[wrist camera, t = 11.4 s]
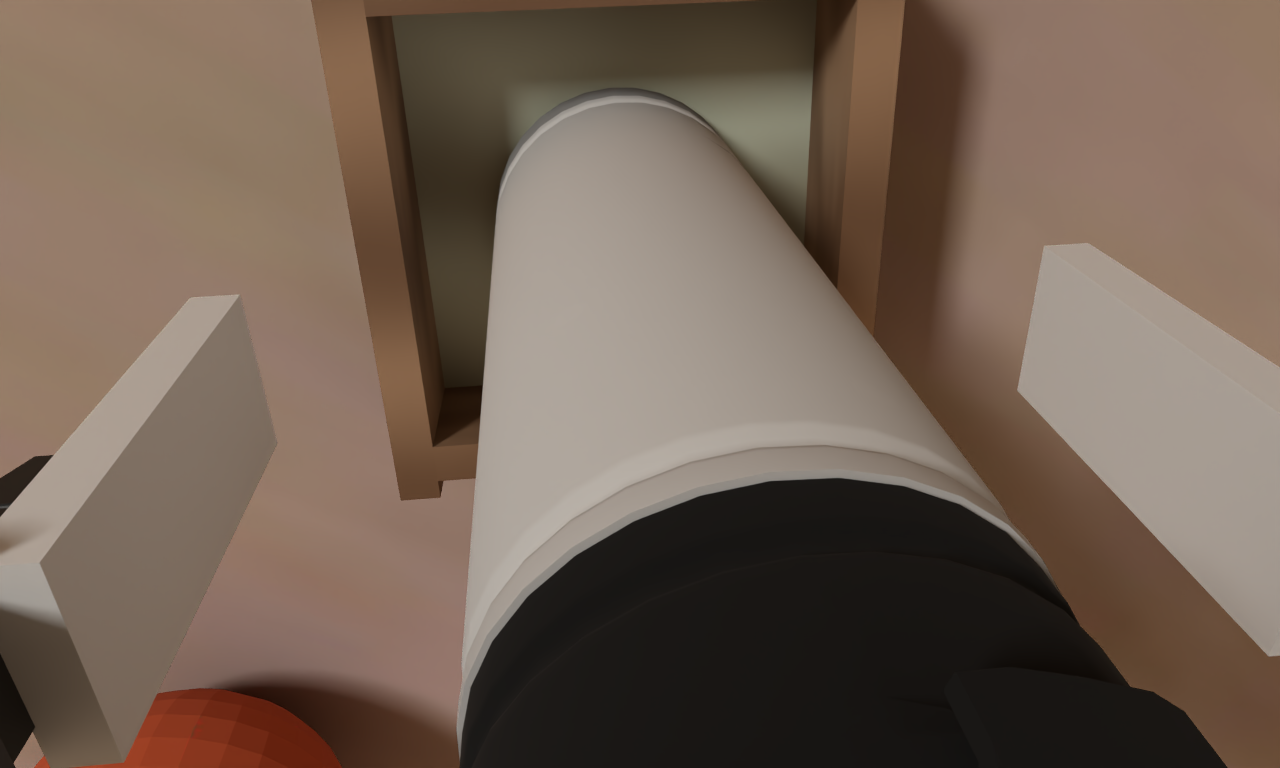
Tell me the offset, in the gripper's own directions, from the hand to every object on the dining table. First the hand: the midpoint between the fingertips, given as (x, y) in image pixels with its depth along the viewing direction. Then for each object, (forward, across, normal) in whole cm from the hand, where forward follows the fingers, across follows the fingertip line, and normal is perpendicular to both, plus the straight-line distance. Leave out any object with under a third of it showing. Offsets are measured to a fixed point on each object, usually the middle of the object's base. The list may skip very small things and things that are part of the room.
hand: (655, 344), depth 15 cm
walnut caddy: (+10, 0, 0) cm, 10 cm away
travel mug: (+9, 0, 0) cm, 10 cm away
